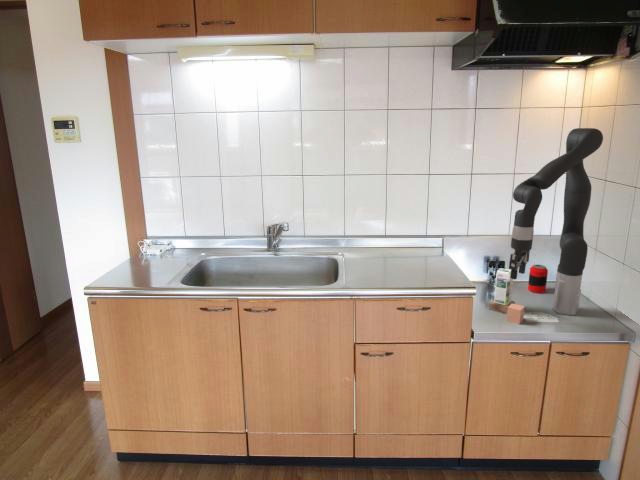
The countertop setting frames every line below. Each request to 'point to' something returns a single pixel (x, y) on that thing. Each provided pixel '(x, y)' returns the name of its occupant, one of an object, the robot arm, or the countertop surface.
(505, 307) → the walnut slab
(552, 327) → the countertop surface
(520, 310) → the terracotta block
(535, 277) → the soda can
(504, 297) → the syrup box
